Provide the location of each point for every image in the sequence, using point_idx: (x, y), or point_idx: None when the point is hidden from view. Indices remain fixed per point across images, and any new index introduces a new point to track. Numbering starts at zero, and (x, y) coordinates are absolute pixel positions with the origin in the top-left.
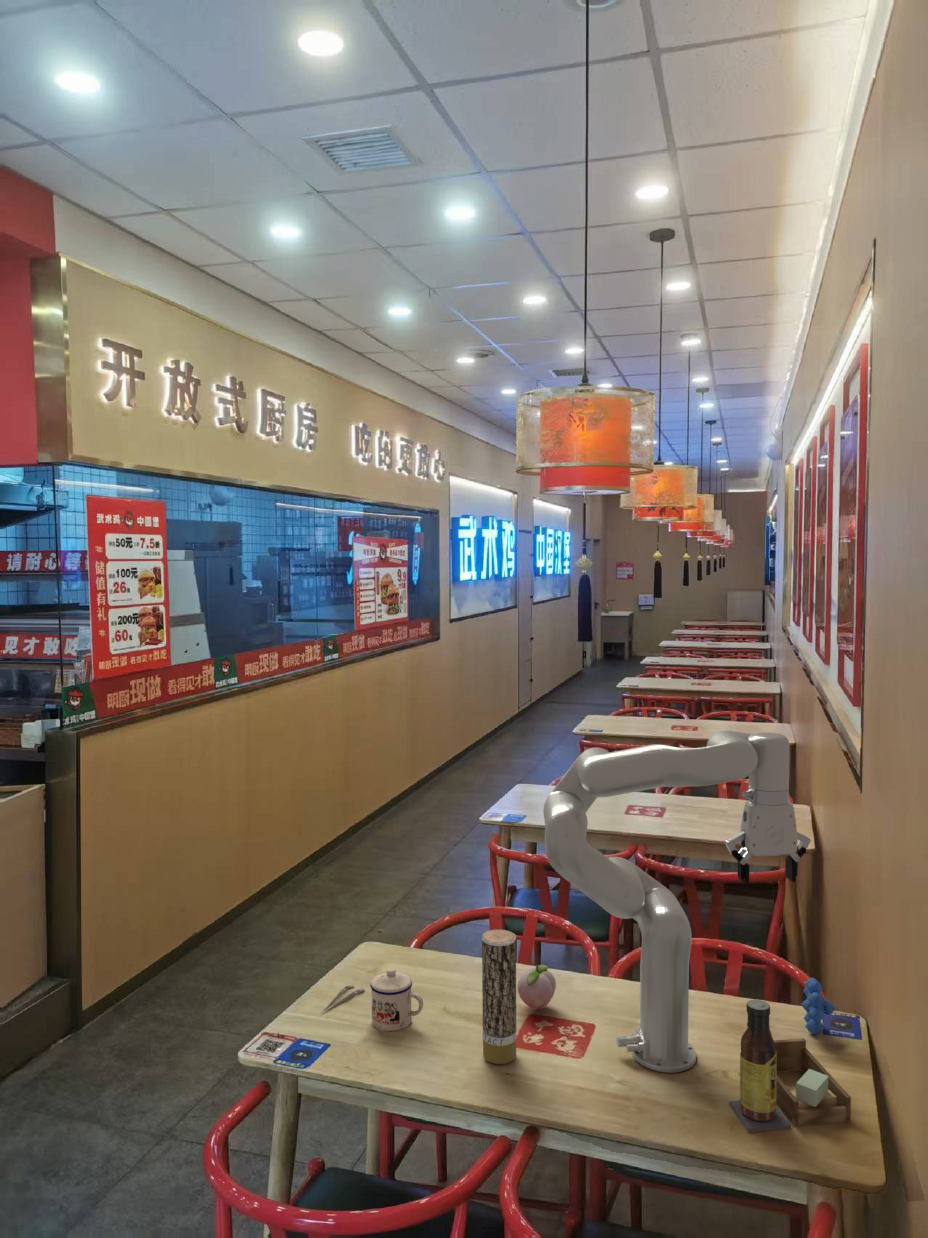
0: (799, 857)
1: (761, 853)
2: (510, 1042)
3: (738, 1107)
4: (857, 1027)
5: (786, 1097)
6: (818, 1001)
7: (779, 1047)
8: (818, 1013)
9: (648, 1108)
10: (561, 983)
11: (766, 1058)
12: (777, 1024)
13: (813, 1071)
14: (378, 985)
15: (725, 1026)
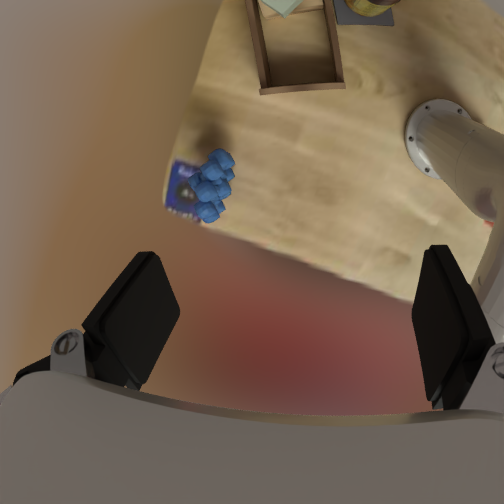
0: (52, 349)
1: (418, 447)
2: None
3: (386, 12)
4: (170, 185)
5: None
6: (210, 160)
7: (303, 84)
8: (217, 151)
9: (482, 45)
10: None
11: None
12: (266, 195)
13: (278, 7)
14: None
15: (338, 195)
